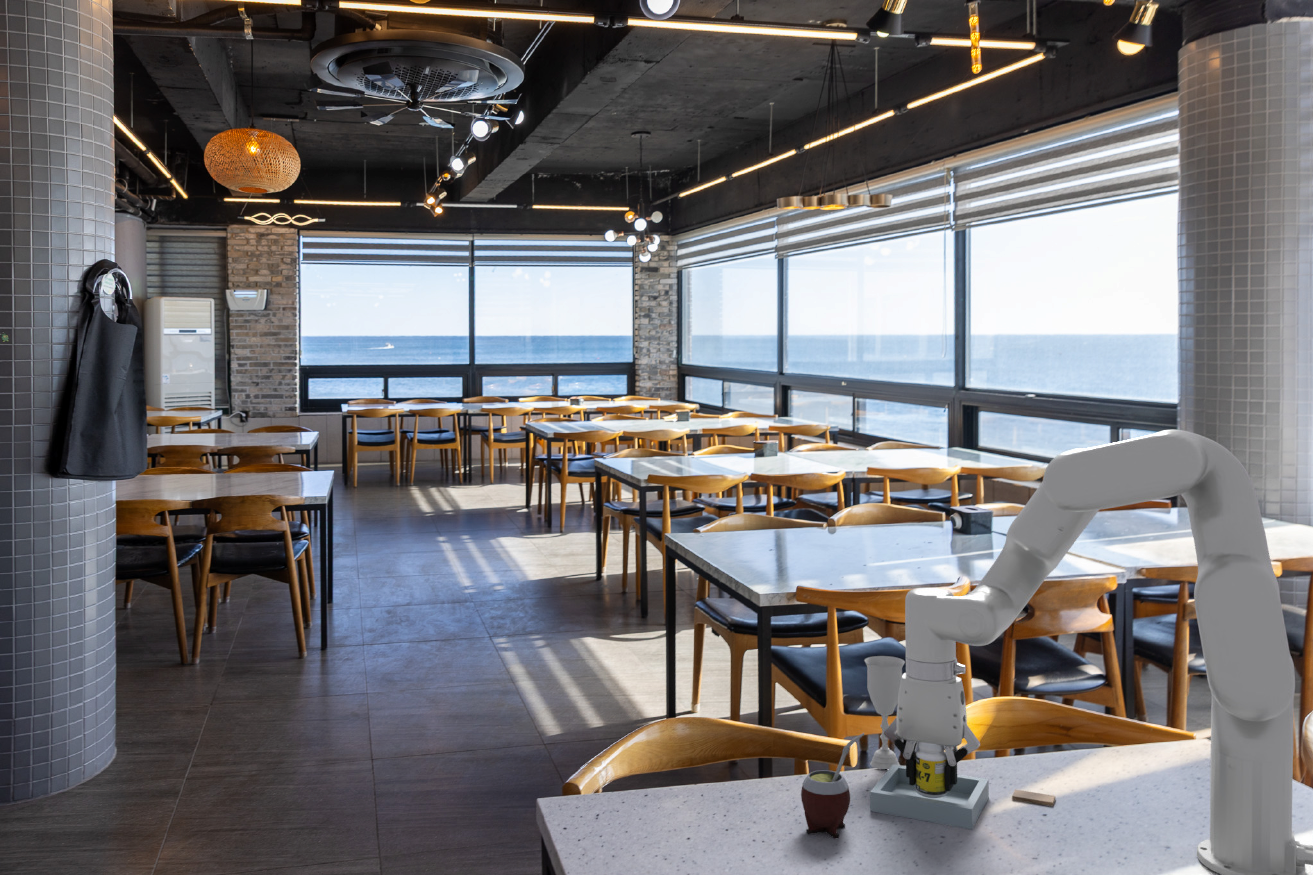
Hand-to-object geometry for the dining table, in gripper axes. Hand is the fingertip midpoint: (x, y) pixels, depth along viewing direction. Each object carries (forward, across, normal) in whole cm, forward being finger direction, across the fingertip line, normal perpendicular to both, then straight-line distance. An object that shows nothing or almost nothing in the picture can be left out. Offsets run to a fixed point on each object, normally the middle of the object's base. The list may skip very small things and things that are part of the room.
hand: (931, 784), depth 160 cm
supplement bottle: (+2, 0, 0) cm, 2 cm away
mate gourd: (+3, +11, +16) cm, 20 cm away
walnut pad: (+3, -14, -9) cm, 17 cm away
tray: (+3, 0, 0) cm, 3 cm away
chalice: (+3, +11, -14) cm, 18 cm away
